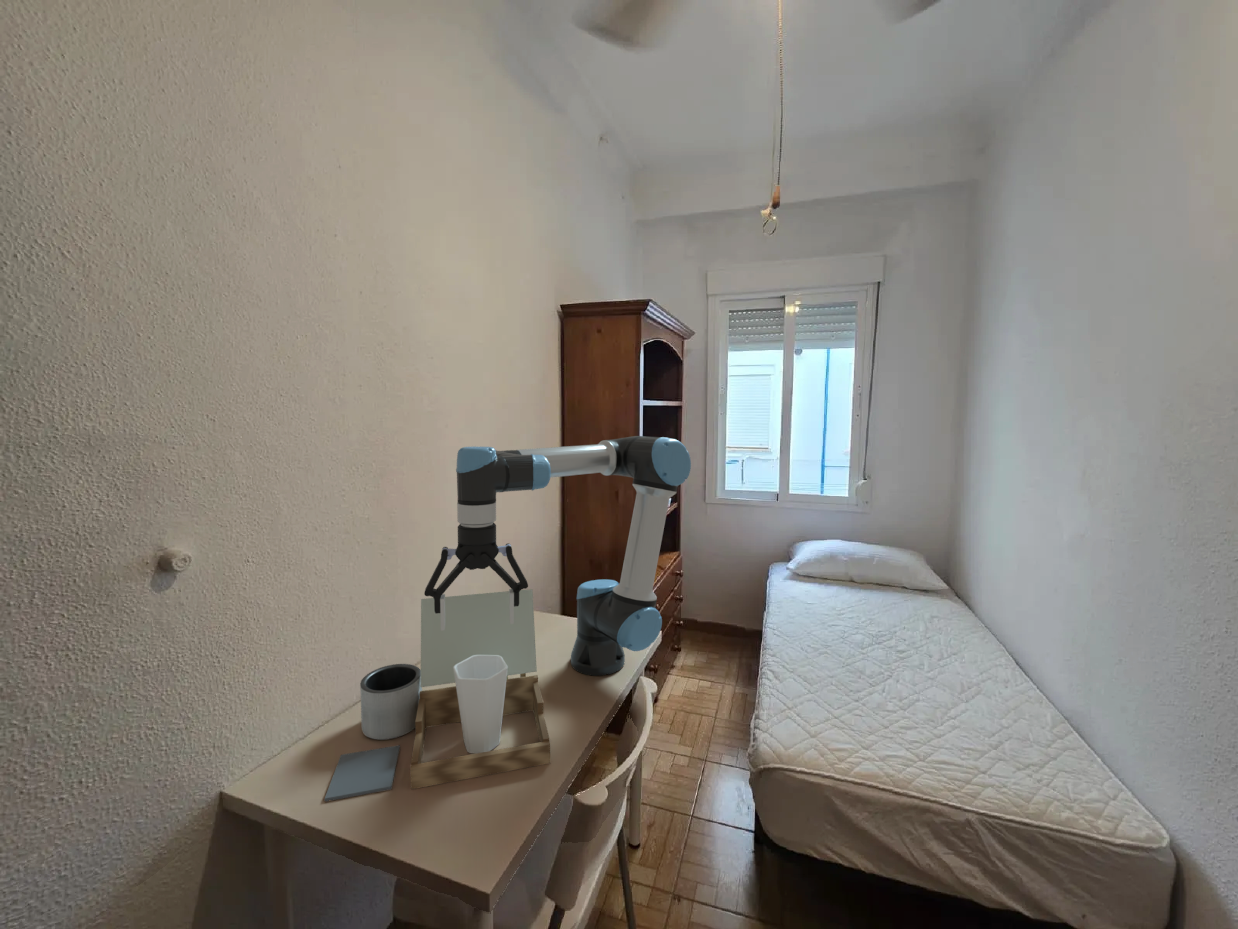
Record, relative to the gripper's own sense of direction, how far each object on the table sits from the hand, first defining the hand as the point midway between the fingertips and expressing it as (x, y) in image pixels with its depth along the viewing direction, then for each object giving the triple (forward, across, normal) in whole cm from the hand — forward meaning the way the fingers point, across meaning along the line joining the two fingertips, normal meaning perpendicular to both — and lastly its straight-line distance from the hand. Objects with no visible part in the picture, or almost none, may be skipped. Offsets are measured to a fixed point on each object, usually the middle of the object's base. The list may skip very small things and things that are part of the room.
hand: (477, 624), depth 104 cm
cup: (+26, -1, 0) cm, 26 cm away
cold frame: (+26, -1, -3) cm, 26 cm away
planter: (+27, +18, -12) cm, 35 cm away
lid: (+8, 0, -13) cm, 16 cm away
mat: (+26, +21, +3) cm, 34 cm away
